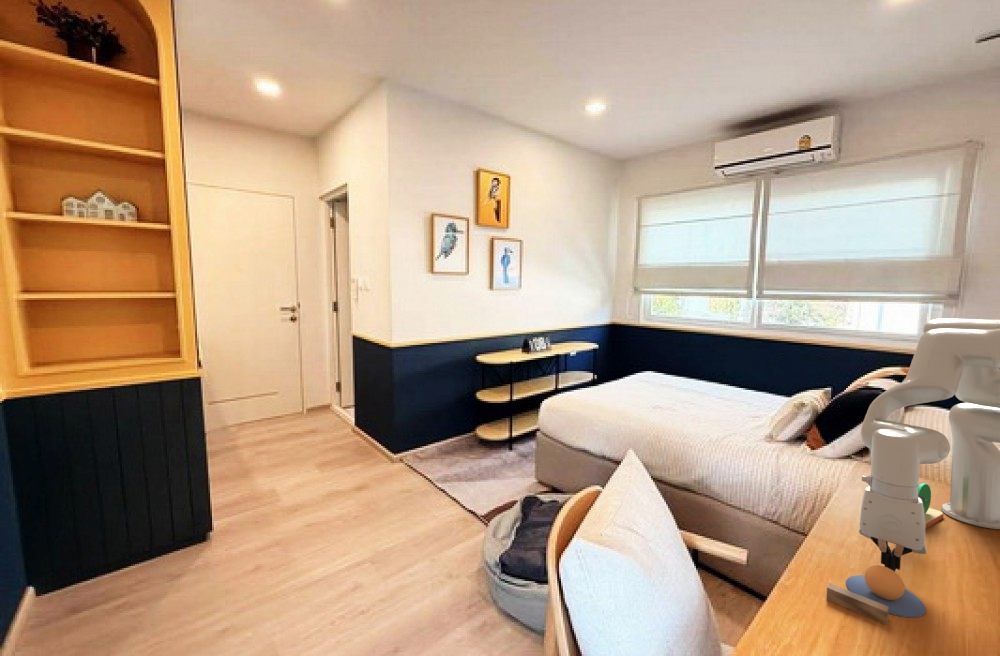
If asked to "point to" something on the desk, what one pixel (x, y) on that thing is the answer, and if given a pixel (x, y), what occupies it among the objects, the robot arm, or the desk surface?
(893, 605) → the mark
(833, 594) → the stopper strip
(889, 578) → the ball
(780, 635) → the desk surface
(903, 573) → the desk surface
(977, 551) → the desk surface
